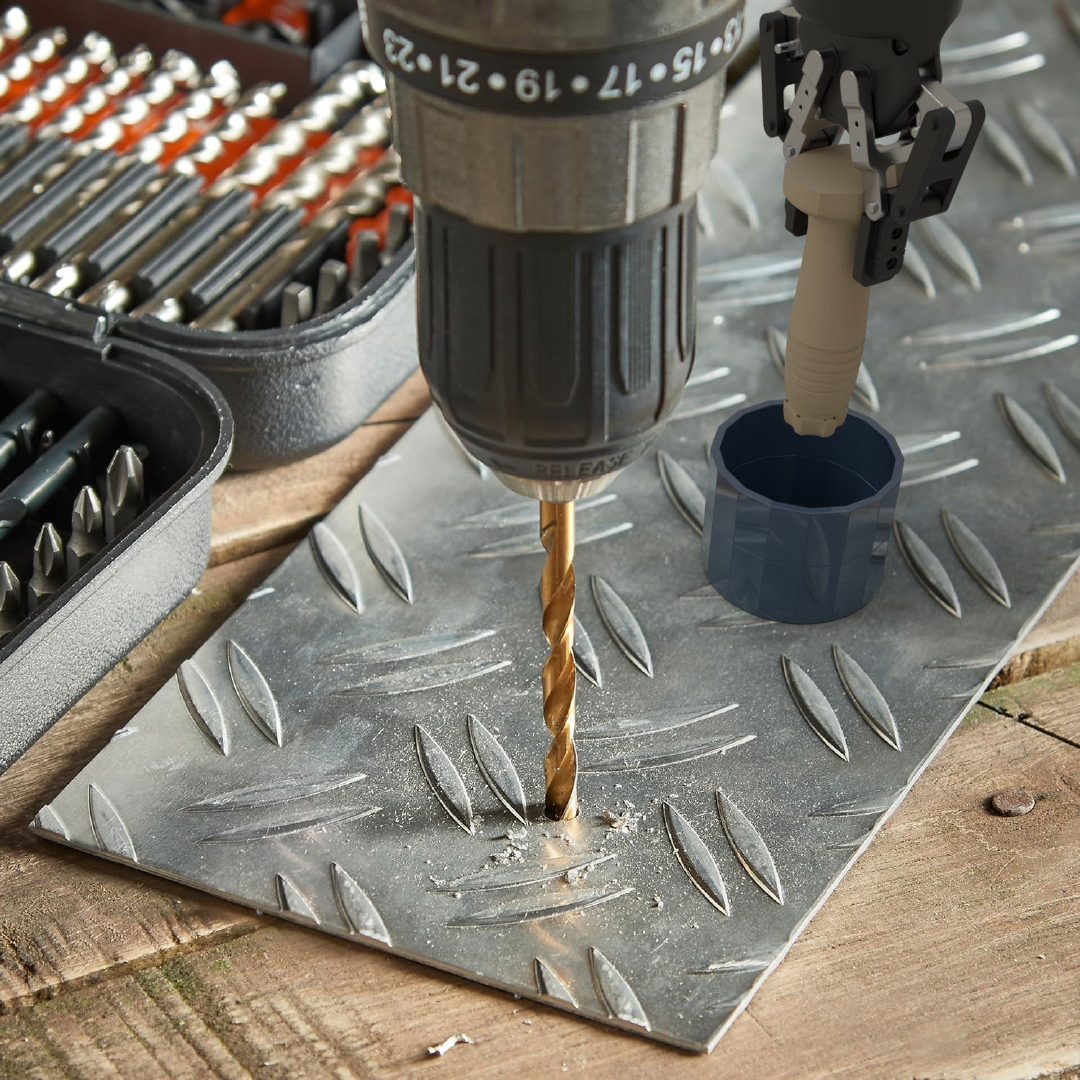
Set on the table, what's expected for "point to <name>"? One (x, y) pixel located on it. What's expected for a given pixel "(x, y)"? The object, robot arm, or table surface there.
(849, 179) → the handle
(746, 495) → the pot
